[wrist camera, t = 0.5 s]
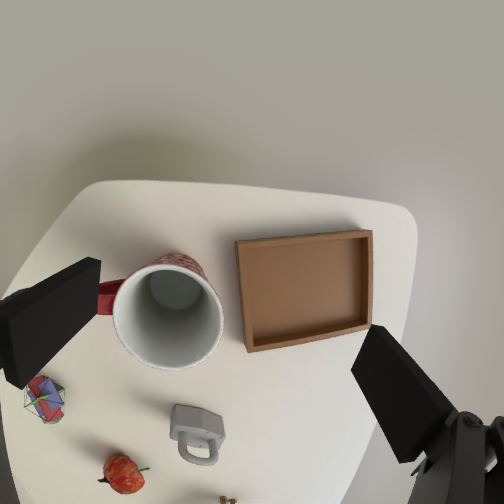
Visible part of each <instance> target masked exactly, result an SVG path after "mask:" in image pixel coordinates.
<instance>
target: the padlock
mask: <svg viewBox="0 0 504 504" xmlns="http://www.w3.org/2000/svg"><path fill="white" fill-rule="evenodd" d="M225 437H226V436H225V431H224V425H223V419H222V417H221V416H218V415H215V414H213V413H211V412H208V411H206V410H203V409H201V408H194V407H188V406H182V405H176V406H175V408H174V411H173V413H172V416H171V422H170V438H171V439H173V440H176V441H178V450H179V453H180V455H181V456H182V458H183V459H185V460H186V461H188V462H190V463H193V464H196V465H200V466H211V465H214V464H215V463H216V462H217V461H218V450H219V448H220V446H221V445H222V443H223V441H224V439H225ZM187 445H189V446H191V447H196V448H204V449H209V452H210V457H209V458H200V457H196V456H194V455H192V454H190V453H189V452H188V450H187Z"/></svg>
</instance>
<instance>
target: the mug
mask: <svg viewBox="0 0 504 504" xmlns="http://www.w3.org/2000/svg"><path fill="white" fill-rule="evenodd" d="M97 314H98V315H113V322H114V327H115V330H116V333H117V335H118V337H119V339H120V341H121V343H122V344H123V346H124V347H125V348H126V350H127V351H128V352H129V353H130V354H131V355H132V356H134V357H135V358H136V359H137V360H139V361H140V362H142V363H144V364H146V365H148V366H151V367H153V368H157V369H160V370H182V369H187V368H190V367H193V366H195V365H197V364H199V363H201V362H202V361H203V360H205V359H206V358H207V357H208V356H209V355H210V354H211V353H212V352H213V351H214V349H215V348H216V346H217V345H218V343H219V341H220V338H221V335H222V332H223V327H224V314H223V308H222V304H221V302H220V299H219V297H218V295H217V293H216V291H215V290H214V288H213V287H212V286H211V284H210V283H209V282H208V280H207V278H206V276H205V274H204V272H203V270H202V268H201V267H200V265H199V264H198V263H197V262H196V261H195V260H193V259H192V258H190V257H188V256H186V255H182V254H169V255H165V256H163V257H161V258H159V259H158V260H156V261H155V262H153V263H152V264H150V265H147V266H144V267H142V268H140V269H138V270H137V271H135V272H133V273H132V274H131V275H130V276H128V277H127V278H126V279H120V280H114V281H109V282H104V283H100V284H99V296H98V313H97Z"/></svg>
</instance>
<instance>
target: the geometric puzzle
mask: <svg viewBox="0 0 504 504" xmlns="http://www.w3.org/2000/svg"><path fill="white" fill-rule="evenodd" d="M43 377H44V376H43V375H42V376H39V377H35V378H33V379H32V380H31V381H30V382H29V383H28V386H29V388H30V390H31V391H30V390H29V391H28V392H27V394H28V395H29V397H30V399H31V401H32V402H31V403H30V404H28V405H26V406H25V405H24V408H25V407H27V406H30V405H32V404H33V405H34V406H35V408H36V410H37V412H38V414H39V415H40V416H38V417H40V418H41V419H42V420H43V422H44V423H45V424H54V423H57V422H59V421H60V420H61V418H62V417H63V416H64V414H63V412H62V411H61V409H60V408H61V407H62V406H63V405H64V402H63V401H62V399H61V397H60V395H59V394H58V393H60V392H61V391H63V390H64V394H65V389H64V388H63V387H61V388H63V390H61V391H58V392H57V390H56V388H55V386H54V384H55V383H54V384H53V383H52V381H51V379H50V377H49V378H48V379H47V378H46V379H47V380H44V378H43ZM45 377H46V376H45ZM54 382H55V381H54ZM56 385H57V384H56ZM58 385H59V384H58ZM26 388H27V386H26ZM26 398H27V396H26ZM24 399H25V394H24ZM25 402H26V401H25ZM61 405H62V406H61ZM59 406H61V407H59ZM27 410H28V409H27ZM29 411H30V410H29ZM34 414H35V413H34ZM35 415H36V414H35ZM42 416H45V418H42Z"/></svg>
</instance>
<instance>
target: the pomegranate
mask: <svg viewBox="0 0 504 504" xmlns="http://www.w3.org/2000/svg"><path fill="white" fill-rule="evenodd" d="M148 469H150V468H145V469H140V470H138V466H137V465H136V464H135V463H134V462H133V461H132V460H131V459H130V458H129V457H128V456H125V455H117V456H113V457H111V458H109V459H108V460H107V461H106V462H105V464H104V467H103V471H104V472H103V474H104V478H103V479H99V480H97V481H99V482H106V483H109V484H110V486H111V488H112V489H114V490H115V491H116V492H118V493H120V494H131V493H135V492H137V491H138V490H140V489H141V488H142V487H143V485H144V483H145V480H144V478H143V476H142V474H141V473H140V471H144V470H148Z"/></svg>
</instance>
